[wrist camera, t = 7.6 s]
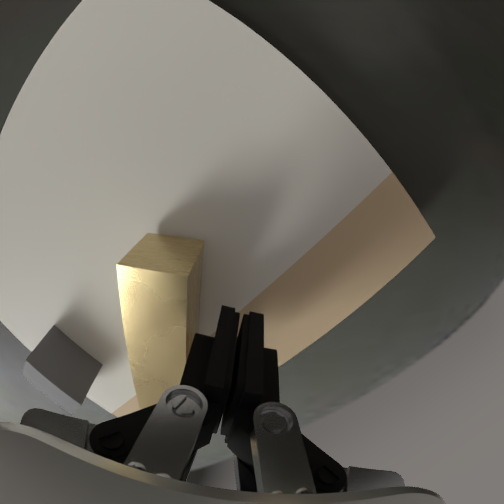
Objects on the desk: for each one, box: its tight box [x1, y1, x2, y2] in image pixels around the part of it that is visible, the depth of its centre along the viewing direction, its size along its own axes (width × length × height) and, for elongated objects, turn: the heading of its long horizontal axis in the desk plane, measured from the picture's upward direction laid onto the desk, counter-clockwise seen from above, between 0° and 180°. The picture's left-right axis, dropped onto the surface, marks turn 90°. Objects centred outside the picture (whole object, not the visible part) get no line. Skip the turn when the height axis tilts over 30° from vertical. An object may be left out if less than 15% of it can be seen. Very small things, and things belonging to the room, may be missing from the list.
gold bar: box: [116, 233, 205, 410], centre depth 12 cm, size 13×3×3 cm, turn 172°
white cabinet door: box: [0, 0, 435, 417], centre depth 12 cm, size 24×20×6 cm
